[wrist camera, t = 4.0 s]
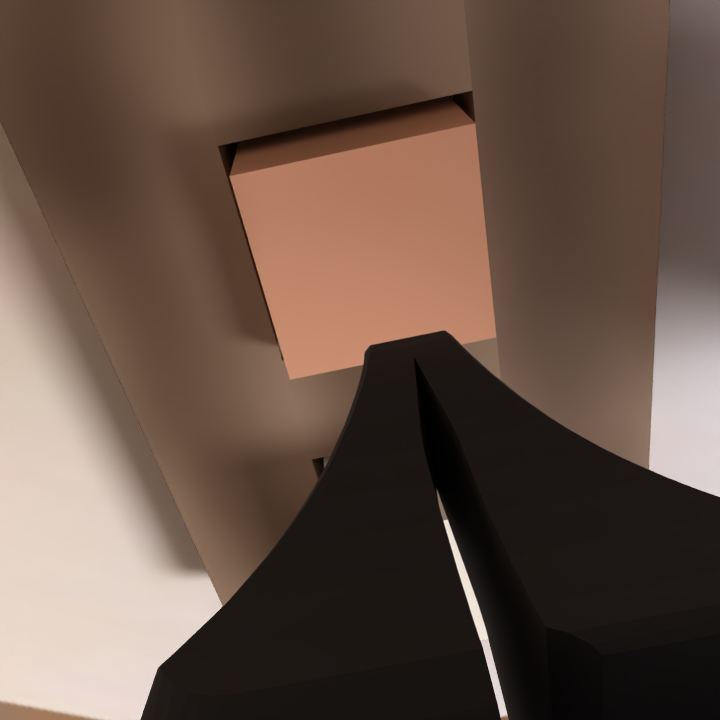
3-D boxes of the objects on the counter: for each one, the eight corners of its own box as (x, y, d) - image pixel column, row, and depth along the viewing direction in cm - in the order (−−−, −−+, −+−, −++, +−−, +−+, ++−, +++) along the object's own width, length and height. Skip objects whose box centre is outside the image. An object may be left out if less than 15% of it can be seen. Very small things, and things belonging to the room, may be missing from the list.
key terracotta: (439, 86, 17) (475, 122, 14) (461, 268, 20) (496, 337, 16) (242, 129, 17) (229, 176, 14) (291, 304, 20) (290, 379, 16)
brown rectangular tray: (627, -637, 11) (705, -772, 9) (614, 502, 25) (644, 555, 23) (-185, -434, 12) (-292, -516, 10) (241, 576, 25) (235, 634, 23)
